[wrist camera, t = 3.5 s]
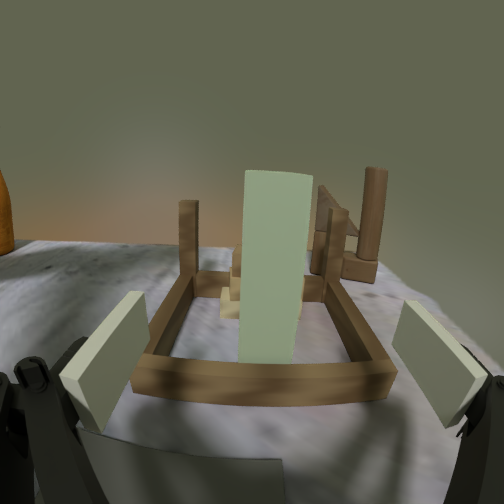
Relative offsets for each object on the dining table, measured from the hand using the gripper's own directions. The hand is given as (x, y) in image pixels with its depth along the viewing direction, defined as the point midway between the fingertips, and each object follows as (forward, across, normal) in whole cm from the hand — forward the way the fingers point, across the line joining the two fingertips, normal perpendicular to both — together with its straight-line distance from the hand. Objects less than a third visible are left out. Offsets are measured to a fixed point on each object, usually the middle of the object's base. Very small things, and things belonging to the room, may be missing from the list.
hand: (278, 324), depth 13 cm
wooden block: (+31, +14, -9) cm, 35 cm away
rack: (+13, 0, -9) cm, 16 cm away
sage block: (+10, 0, -9) cm, 13 cm away
